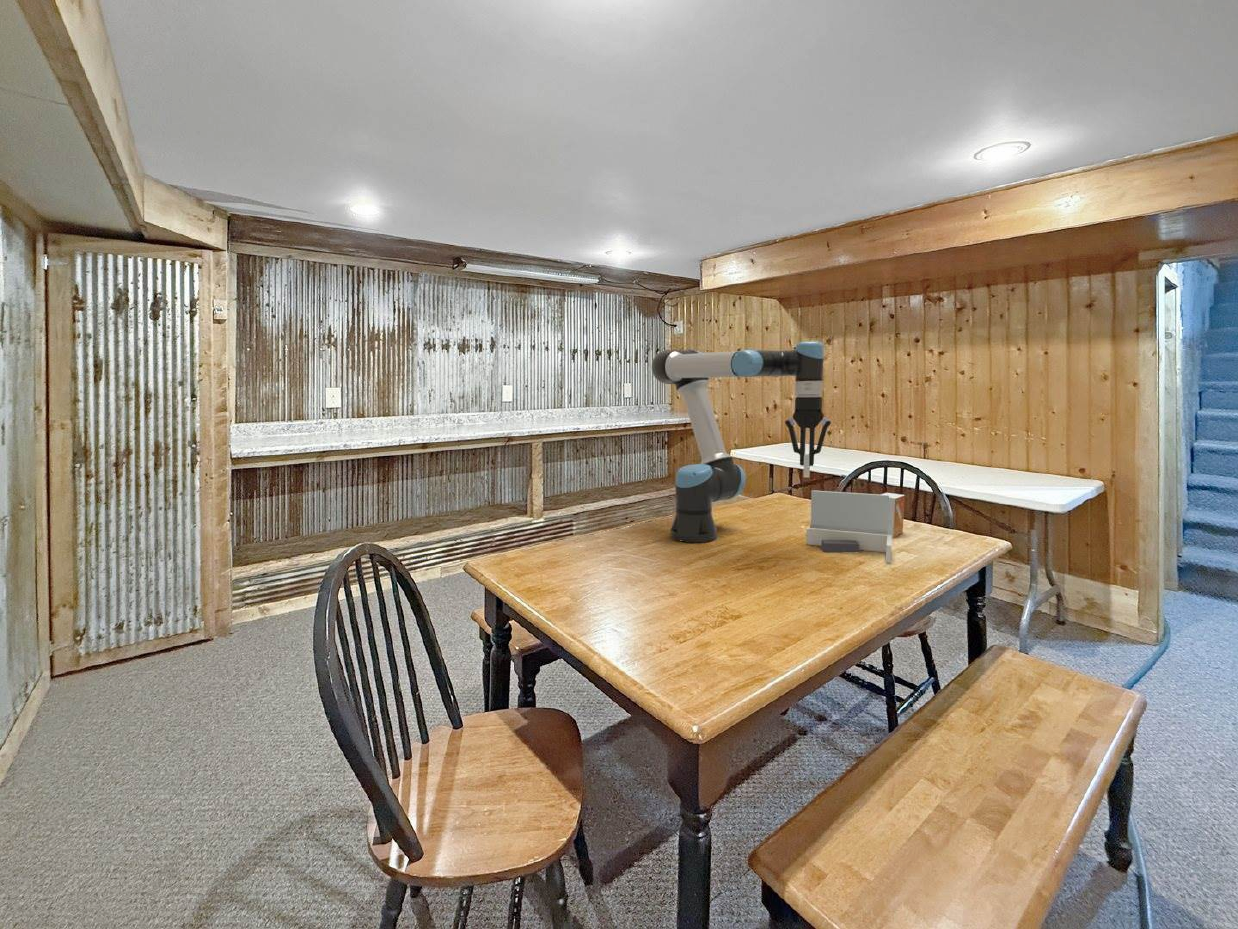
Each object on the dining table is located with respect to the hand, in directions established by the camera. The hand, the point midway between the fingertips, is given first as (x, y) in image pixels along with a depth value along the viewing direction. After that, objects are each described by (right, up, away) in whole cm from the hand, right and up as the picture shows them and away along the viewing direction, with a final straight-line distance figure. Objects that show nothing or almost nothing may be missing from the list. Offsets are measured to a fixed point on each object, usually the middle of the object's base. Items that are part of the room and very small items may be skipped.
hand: (806, 476), depth 173 cm
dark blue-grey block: (+11, -22, +3) cm, 25 cm away
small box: (+33, -19, +20) cm, 43 cm away
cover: (+13, -11, +2) cm, 17 cm away
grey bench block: (+12, -22, +1) cm, 26 cm away
